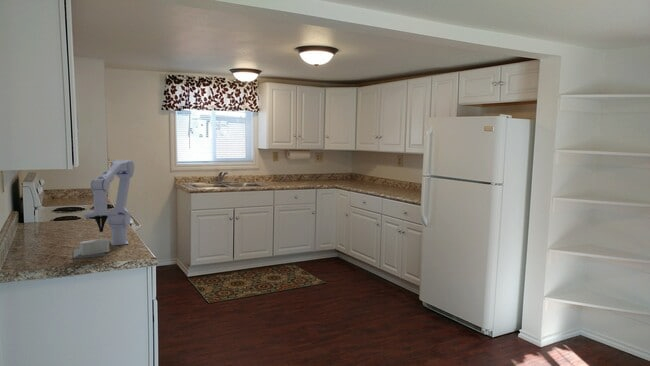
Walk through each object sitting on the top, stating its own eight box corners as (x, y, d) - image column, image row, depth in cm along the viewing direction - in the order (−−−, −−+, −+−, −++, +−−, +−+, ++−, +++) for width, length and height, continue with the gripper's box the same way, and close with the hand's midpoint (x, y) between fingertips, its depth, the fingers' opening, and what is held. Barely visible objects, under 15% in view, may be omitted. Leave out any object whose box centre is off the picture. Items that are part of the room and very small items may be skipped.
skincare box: (105, 238, 225) (79, 241, 216) (109, 239, 222) (82, 243, 213) (105, 250, 225) (79, 254, 216) (109, 252, 222) (82, 256, 213)
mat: (73, 250, 226) (73, 249, 226) (103, 247, 232) (103, 246, 232) (73, 258, 210) (73, 257, 210) (104, 256, 216) (104, 255, 216)
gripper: (83, 205, 214) (84, 234, 216) (117, 204, 221) (118, 231, 222) (83, 203, 221) (84, 231, 222) (116, 202, 227) (117, 229, 229)
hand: (101, 231), depth 223 cm, fingers closed
